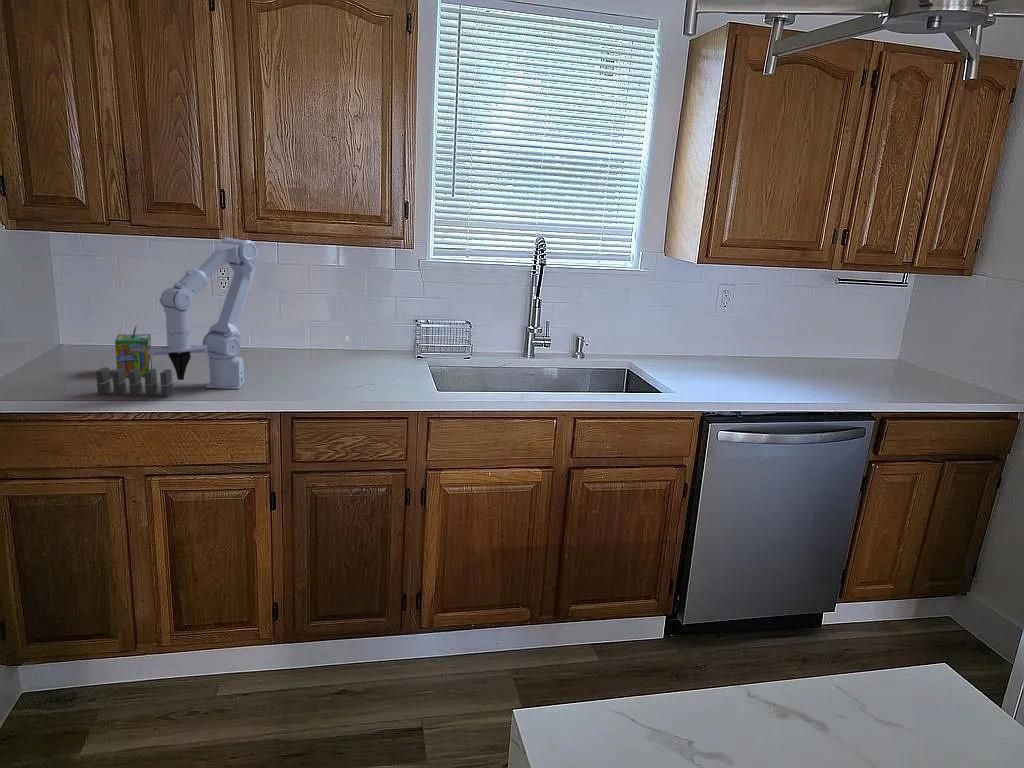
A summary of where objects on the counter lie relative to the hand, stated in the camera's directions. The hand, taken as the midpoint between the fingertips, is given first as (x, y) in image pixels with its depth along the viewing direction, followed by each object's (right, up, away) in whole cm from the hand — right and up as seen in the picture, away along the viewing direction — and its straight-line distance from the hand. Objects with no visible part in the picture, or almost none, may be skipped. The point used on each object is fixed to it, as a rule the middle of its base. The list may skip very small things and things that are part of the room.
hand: (180, 378), depth 204 cm
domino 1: (-21, -4, -1) cm, 21 cm away
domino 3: (-12, -4, 0) cm, 13 cm away
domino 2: (-17, -4, -1) cm, 17 cm away
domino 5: (-4, -5, +1) cm, 6 cm away
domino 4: (-8, -5, 0) cm, 9 cm away
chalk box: (-24, +2, +21) cm, 31 cm away
